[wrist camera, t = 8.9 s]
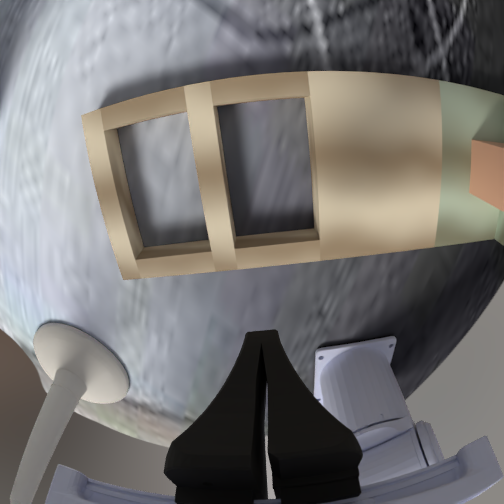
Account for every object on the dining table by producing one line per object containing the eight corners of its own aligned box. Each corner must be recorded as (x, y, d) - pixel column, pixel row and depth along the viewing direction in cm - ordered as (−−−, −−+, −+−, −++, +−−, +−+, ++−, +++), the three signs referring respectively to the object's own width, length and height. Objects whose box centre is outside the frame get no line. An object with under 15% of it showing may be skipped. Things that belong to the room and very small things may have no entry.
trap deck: (488, 228, 20) (522, 253, 16) (132, 266, 22) (107, 303, 18) (495, 96, 15) (536, 101, 11) (95, 114, 17) (54, 118, 12)
